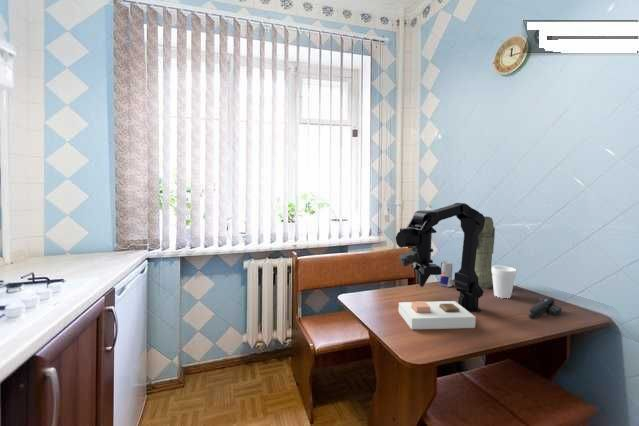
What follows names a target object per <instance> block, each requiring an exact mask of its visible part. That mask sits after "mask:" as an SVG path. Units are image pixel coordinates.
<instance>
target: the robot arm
mask: <svg viewBox="0 0 639 426" xmlns="http://www.w3.org/2000/svg"><path fill="white" fill-rule="evenodd" d="M453 217H456V218H457V219H458V220H459V222H460V228H461V230H462V233H463V243H462V253H461V254H462V255H461V261H460V262H461V263H460V269H459V270H458V271H457V272H454V279H453V282H454V286H455V289H456V292H459V295H458V302H457V303H458V304H459V305H461V306H462V307H463V308H465V309H466V310H467V311H468V312H481V309H480V308H479V299H480V298H481V297H483V294H484V290H483V288H481V287H480V286H479V285H478V277H477V274H476V272H475V262H476V252H477V241H478V235H479V233H480V232H481V231H482V230H483V228H484V223H485V217H486V216H485V215H484V214H483V213H482V212H480V211H478V210H477V209H474V208H472V207H471V206H470V205H469V204H467V203H465V202H456V203H453V204H450V205H446V206H443V207H439V208H436V209H429V210H428V209H427V210H417V211H415V212H414V213H413V215H412V218H411V219H410V221H409V222H408V224H407V226H406V228H404V227H400V228H399V231H398V232H397V234H396V236H395V242H396V245H397V246H398V247H399V248H410V247H412V248H411V250H410V251H407V252H404V253H401V254H399V255H398V259H399V262H400V264H401V265H402V266H404V267H408V266H409V265H411V264H412V265H411V266H410V267H411V268H412V269H413V270H415V273H416V276H417V281H418V285H419V287H421V288H423V287H424V286H425V285H426V283H427V281H428V279H429V278H430V276H440V275H441V274H442V269H441V266H440V265H437V264H436V263H434V260H433V259H432V253H433V252H434V249H433V248H432V240H433V239H432V237H433V236H432V235H433V234H436V233H437V230H436V229H435V228H433V227H434V226H436V225H439V222H441V221H443V220H446V219H450V218H453Z"/></svg>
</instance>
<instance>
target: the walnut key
mask: <svg viewBox="0 0 639 426" xmlns="http://www.w3.org/2000/svg"><path fill="white" fill-rule="evenodd" d="M440 308H441V309H442V310H444V311H445V312H459V308H457V307H456V306H455V305H454V304H440Z"/></svg>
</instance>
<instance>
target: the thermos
mask: <svg viewBox="0 0 639 426" xmlns="http://www.w3.org/2000/svg"><path fill="white" fill-rule="evenodd" d="M484 217H485V223H484V228H483V230H482V231H481V232H480V233H479V235H478V241H477V252H476V262H475V272H476V274H477V277H478V285H479V286H480V287H481V289H484V288H488V289H491V288H492V284H493V277H492V261H493V254H494V246H495V238H496V237H495V233H496V228H495V226H494V221H493V218H492V217H490V216H484ZM490 287H491V288H490Z"/></svg>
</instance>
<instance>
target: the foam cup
mask: <svg viewBox="0 0 639 426" xmlns="http://www.w3.org/2000/svg"><path fill="white" fill-rule="evenodd" d="M491 272H492V286H493V288H492V289H493V295H494V297H496V296H497V298H499V297H500V298H499V299H503V298H507V300H508V298H509V299H510V297H511V296H512V293H513V288H514V284H515V279H516V276H517V269H516V268H515V267H510V266H507V265H493V266H492V265H491Z"/></svg>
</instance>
